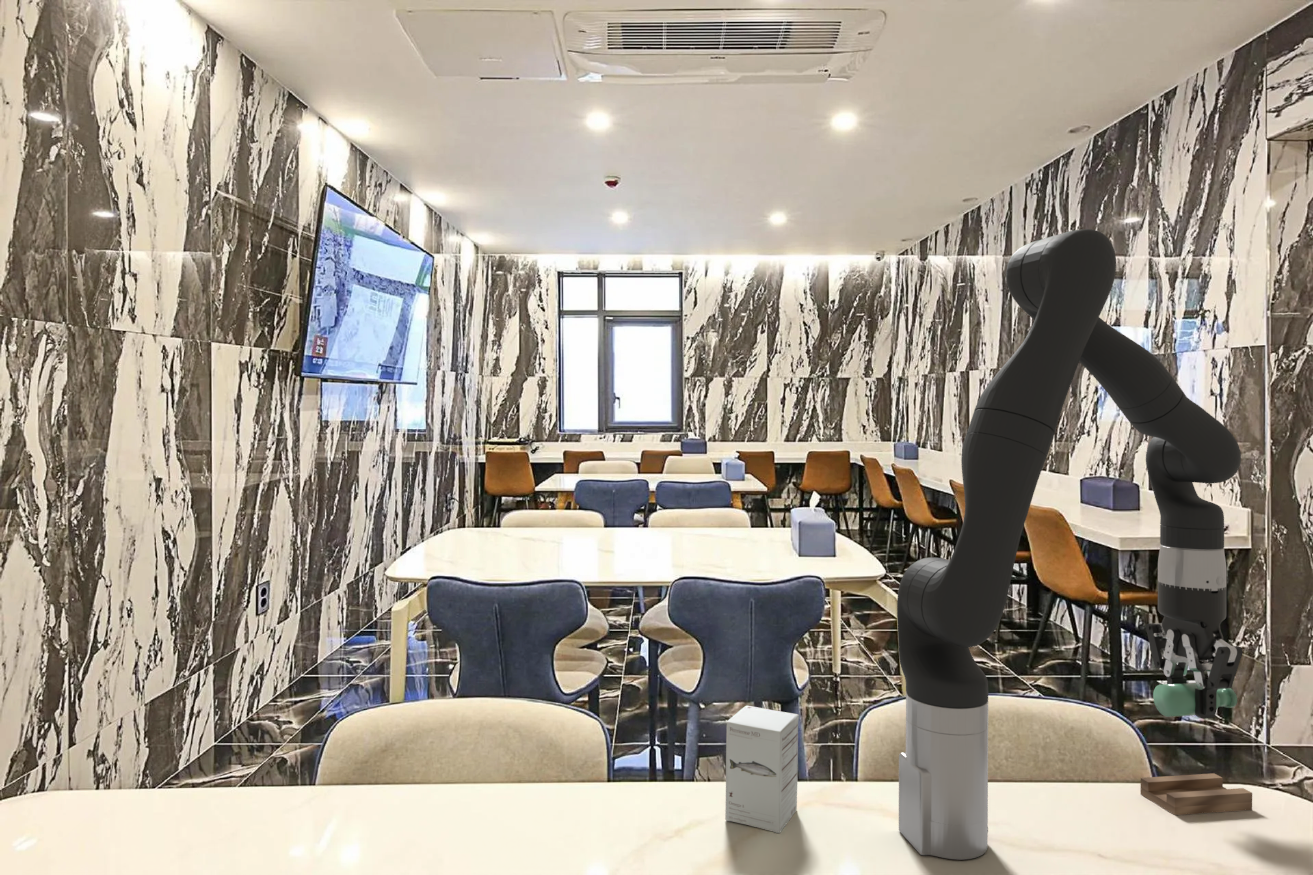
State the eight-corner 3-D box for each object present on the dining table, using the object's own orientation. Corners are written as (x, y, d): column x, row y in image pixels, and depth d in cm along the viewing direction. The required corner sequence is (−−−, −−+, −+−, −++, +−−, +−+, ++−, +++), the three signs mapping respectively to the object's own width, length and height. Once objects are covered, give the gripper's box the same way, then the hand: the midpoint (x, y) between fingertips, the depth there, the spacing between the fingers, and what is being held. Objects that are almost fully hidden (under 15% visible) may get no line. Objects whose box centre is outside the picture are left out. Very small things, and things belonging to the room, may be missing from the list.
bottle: (1176, 720, 104) (1175, 689, 104) (1153, 711, 108) (1152, 681, 108) (1242, 716, 105) (1241, 685, 105) (1217, 707, 109) (1216, 677, 109)
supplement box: (723, 821, 101) (723, 720, 101) (745, 798, 108) (745, 703, 108) (780, 835, 98) (780, 730, 98) (799, 810, 104) (799, 712, 104)
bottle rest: (1174, 814, 103) (1174, 797, 103) (1140, 794, 109) (1140, 777, 109) (1252, 809, 105) (1252, 792, 104) (1214, 789, 110) (1214, 773, 110)
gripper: (1126, 572, 113) (1126, 695, 113) (1209, 592, 99) (1209, 732, 99) (1175, 570, 114) (1175, 692, 114) (1264, 590, 100) (1263, 729, 100)
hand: (1191, 710), depth 107 cm, fingers closed on bottle, 4 cm apart
